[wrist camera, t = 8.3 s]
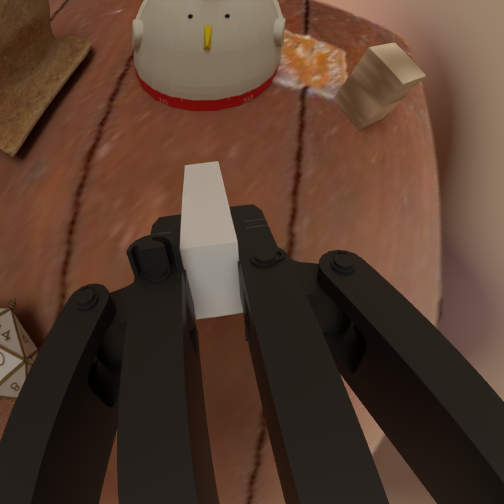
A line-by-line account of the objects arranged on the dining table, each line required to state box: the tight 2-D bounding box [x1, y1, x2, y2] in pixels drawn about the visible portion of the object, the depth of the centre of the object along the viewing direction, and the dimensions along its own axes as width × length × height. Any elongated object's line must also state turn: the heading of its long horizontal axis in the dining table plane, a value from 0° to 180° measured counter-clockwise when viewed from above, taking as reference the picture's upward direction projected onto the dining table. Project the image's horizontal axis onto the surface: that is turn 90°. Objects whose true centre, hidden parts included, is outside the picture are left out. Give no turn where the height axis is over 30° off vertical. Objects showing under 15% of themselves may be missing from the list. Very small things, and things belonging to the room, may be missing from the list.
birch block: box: [333, 43, 425, 131], centre depth 21 cm, size 4×4×8 cm
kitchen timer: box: [132, 0, 285, 111], centre depth 16 cm, size 14×14×15 cm
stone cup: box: [0, 0, 91, 157], centre depth 13 cm, size 15×12×15 cm
